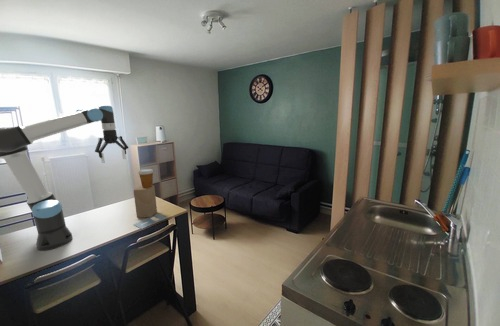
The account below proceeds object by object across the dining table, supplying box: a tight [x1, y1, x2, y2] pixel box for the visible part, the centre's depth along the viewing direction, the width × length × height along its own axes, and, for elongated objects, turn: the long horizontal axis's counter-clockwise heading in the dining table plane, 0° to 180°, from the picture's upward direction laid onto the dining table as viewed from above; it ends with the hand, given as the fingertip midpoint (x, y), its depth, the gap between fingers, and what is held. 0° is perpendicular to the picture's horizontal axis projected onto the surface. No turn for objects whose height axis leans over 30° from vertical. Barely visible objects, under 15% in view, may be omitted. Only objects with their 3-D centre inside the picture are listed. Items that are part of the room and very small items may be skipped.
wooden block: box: [133, 185, 158, 218], centre depth 153 cm, size 10×10×20 cm
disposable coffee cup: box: [138, 168, 154, 188], centre depth 152 cm, size 10×10×12 cm
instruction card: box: [133, 213, 168, 230], centre depth 146 cm, size 18×10×1 cm, turn 145°
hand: (114, 160), depth 151 cm, fingers open, 13 cm apart
